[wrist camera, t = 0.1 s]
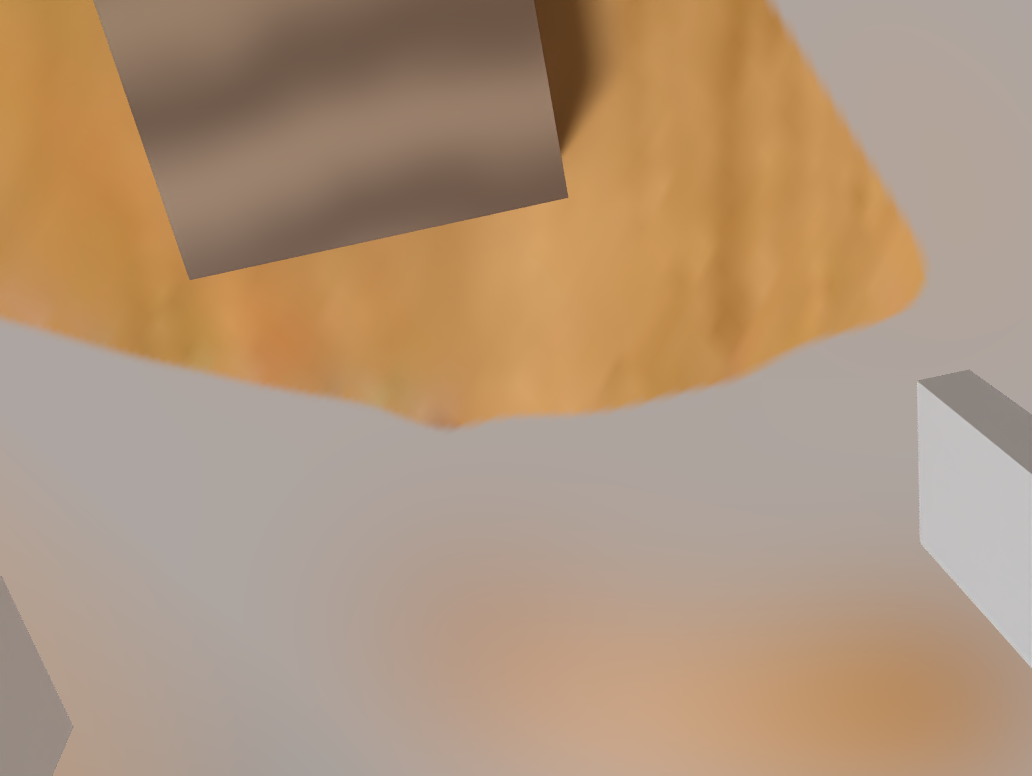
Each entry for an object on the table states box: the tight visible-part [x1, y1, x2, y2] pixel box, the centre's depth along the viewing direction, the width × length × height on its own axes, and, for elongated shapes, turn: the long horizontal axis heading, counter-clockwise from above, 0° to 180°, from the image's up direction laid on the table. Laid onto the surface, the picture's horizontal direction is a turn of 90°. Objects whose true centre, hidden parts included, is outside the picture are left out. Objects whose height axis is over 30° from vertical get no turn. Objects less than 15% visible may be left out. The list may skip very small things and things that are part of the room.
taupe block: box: [93, 0, 568, 280], centre depth 35 cm, size 14×14×5 cm
